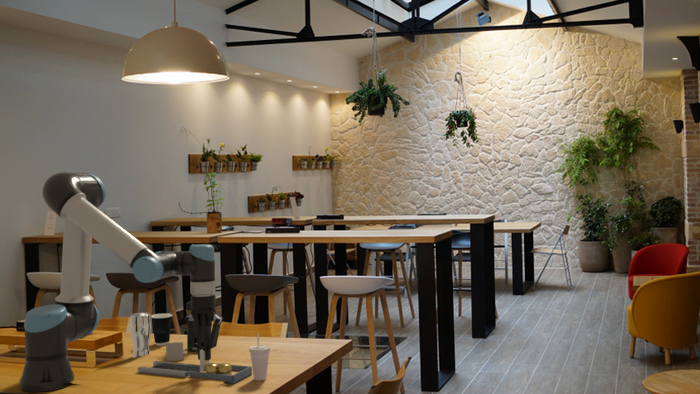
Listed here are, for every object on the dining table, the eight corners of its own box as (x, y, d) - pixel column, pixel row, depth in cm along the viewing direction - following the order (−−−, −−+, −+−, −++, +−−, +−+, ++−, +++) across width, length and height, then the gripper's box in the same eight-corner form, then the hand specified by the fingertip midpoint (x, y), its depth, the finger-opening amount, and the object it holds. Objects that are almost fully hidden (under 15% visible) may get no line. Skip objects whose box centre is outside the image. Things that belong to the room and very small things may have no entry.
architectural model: (166, 362, 227) (166, 341, 227) (187, 361, 229) (186, 339, 229) (165, 365, 224) (165, 343, 224) (187, 363, 225) (186, 341, 225)
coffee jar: (192, 345, 250) (191, 296, 250) (213, 345, 249) (212, 296, 249) (184, 352, 240) (183, 300, 240) (205, 352, 240) (204, 300, 239)
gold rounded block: (215, 379, 203) (215, 366, 203) (203, 378, 204) (203, 365, 204) (221, 376, 207) (220, 363, 207) (209, 375, 208) (209, 362, 208)
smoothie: (260, 374, 209) (259, 330, 209) (275, 378, 205) (274, 332, 205) (245, 379, 204) (244, 334, 204) (259, 383, 200) (258, 336, 200)
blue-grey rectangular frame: (233, 384, 199) (233, 375, 199) (189, 379, 205) (189, 371, 205) (251, 374, 209) (251, 366, 209) (210, 370, 215) (209, 362, 215)
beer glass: (154, 354, 238) (153, 312, 238) (147, 359, 231) (146, 316, 231) (136, 354, 238) (135, 312, 238) (127, 359, 232) (126, 316, 231)
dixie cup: (157, 347, 248) (156, 318, 247) (147, 344, 253) (146, 315, 253) (176, 344, 253) (176, 315, 253) (166, 340, 259) (166, 312, 259)
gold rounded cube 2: (229, 379, 203) (228, 366, 203) (216, 379, 203) (216, 366, 203) (233, 375, 207) (232, 363, 207) (220, 375, 207) (220, 362, 207)
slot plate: (185, 380, 204) (185, 372, 204) (138, 375, 211) (137, 367, 210) (202, 373, 212) (202, 365, 212) (156, 368, 219) (156, 360, 219)
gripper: (227, 293, 207) (229, 369, 208) (192, 291, 212) (194, 365, 212) (214, 297, 200) (215, 375, 201) (178, 295, 205) (179, 371, 205)
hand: (204, 370), depth 206 cm, fingers closed
